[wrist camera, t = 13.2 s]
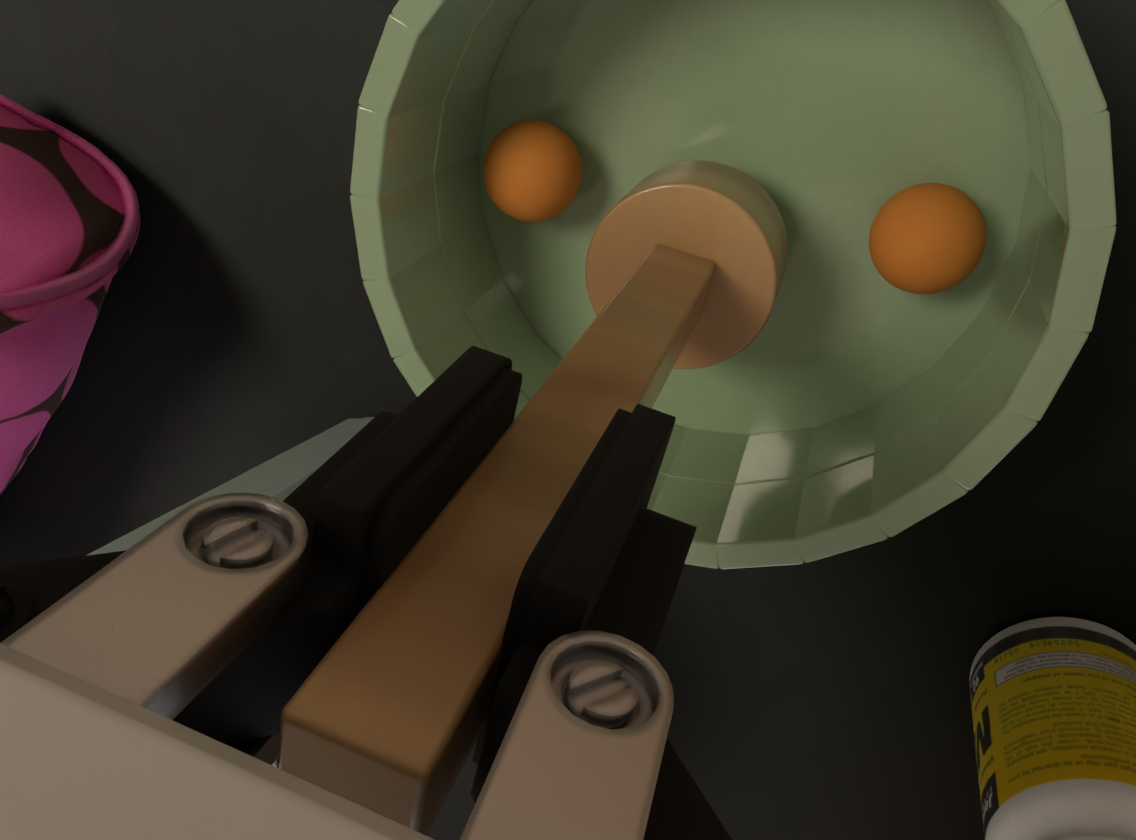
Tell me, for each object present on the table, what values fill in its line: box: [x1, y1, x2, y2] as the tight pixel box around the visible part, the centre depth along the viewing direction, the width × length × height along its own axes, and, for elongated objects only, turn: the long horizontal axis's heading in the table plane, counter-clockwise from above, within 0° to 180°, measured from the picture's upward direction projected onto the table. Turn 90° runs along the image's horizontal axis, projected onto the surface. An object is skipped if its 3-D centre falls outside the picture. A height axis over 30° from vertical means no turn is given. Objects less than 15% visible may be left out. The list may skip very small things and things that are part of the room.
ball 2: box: [869, 183, 986, 294], centre depth 20 cm, size 2×2×2 cm
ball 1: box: [483, 120, 582, 222], centre depth 22 cm, size 2×2×2 cm
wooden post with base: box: [276, 160, 788, 836], centre depth 15 cm, size 4×4×16 cm
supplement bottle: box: [969, 617, 1136, 840], centre depth 22 cm, size 5×5×8 cm
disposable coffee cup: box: [86, 417, 374, 767], centre depth 24 cm, size 11×11×15 cm
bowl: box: [350, 0, 1117, 569], centre depth 20 cm, size 14×14×6 cm
